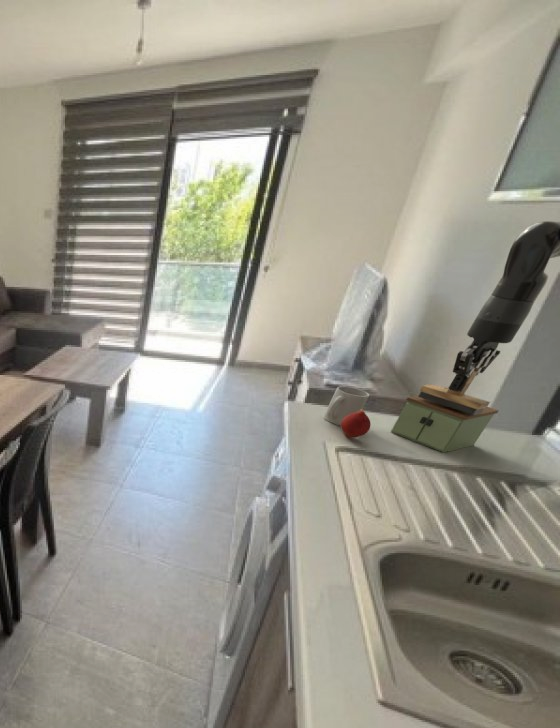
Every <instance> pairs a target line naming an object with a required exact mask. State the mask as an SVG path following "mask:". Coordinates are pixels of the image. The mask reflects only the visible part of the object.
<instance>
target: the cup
mask: <svg viewBox="0 0 560 728" xmlns="http://www.w3.org/2000/svg"><path fill="white" fill-rule="evenodd" d="M369 397H370V393H368V392H367V391H366V390H362V389H360V388H356V387H352V386H345V385H344V386H343V385H340V386H337V387H336V390H335V392H334V393H333V396H332V398H331V400H330V402H329V404H328V406H327V408H326V411H325V413H324V415H323V417H324V419H325V421H327V422H328V423H330V424H334V425H336V426H341V422H342V420H343V419H344V418H345V417H346V416H348V415H350V414H352V413H356V412H358V411H359V410H360V409H362V410H364V409H363V408H364V407H365V405H366V403H367V401H368V399H369Z"/></svg>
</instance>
